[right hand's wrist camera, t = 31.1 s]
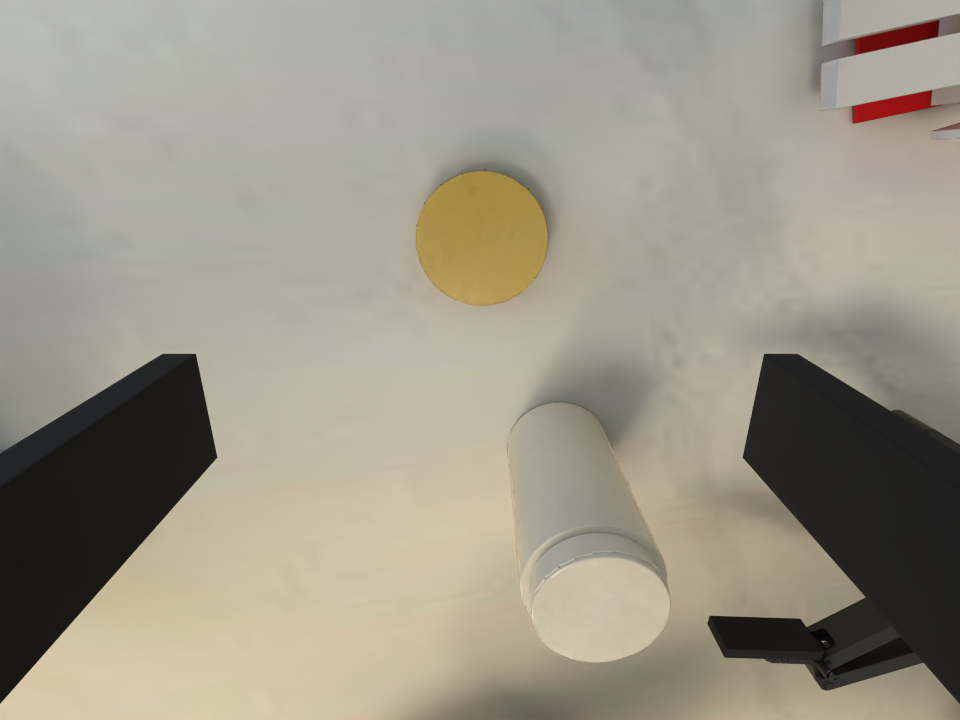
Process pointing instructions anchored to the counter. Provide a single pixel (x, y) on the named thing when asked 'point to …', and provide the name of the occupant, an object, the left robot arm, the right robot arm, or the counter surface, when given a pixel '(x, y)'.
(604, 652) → the jar
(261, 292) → the counter surface
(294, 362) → the counter surface
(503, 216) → the lid
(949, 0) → the toy
